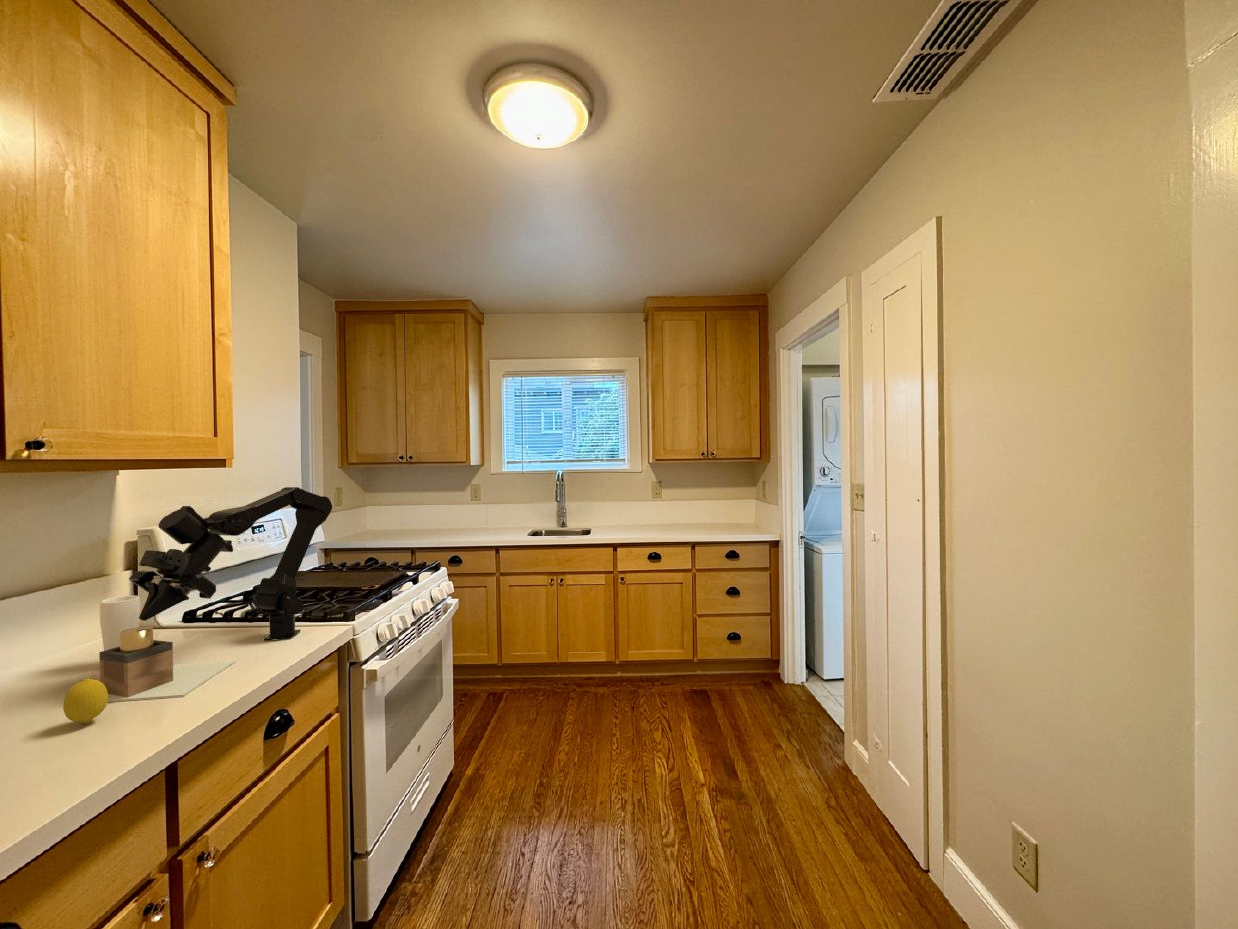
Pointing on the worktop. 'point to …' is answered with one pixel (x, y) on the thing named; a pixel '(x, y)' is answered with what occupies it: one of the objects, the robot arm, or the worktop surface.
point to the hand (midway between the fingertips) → (141, 619)
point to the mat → (180, 681)
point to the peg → (136, 639)
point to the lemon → (85, 701)
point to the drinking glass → (118, 618)
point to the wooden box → (136, 669)
